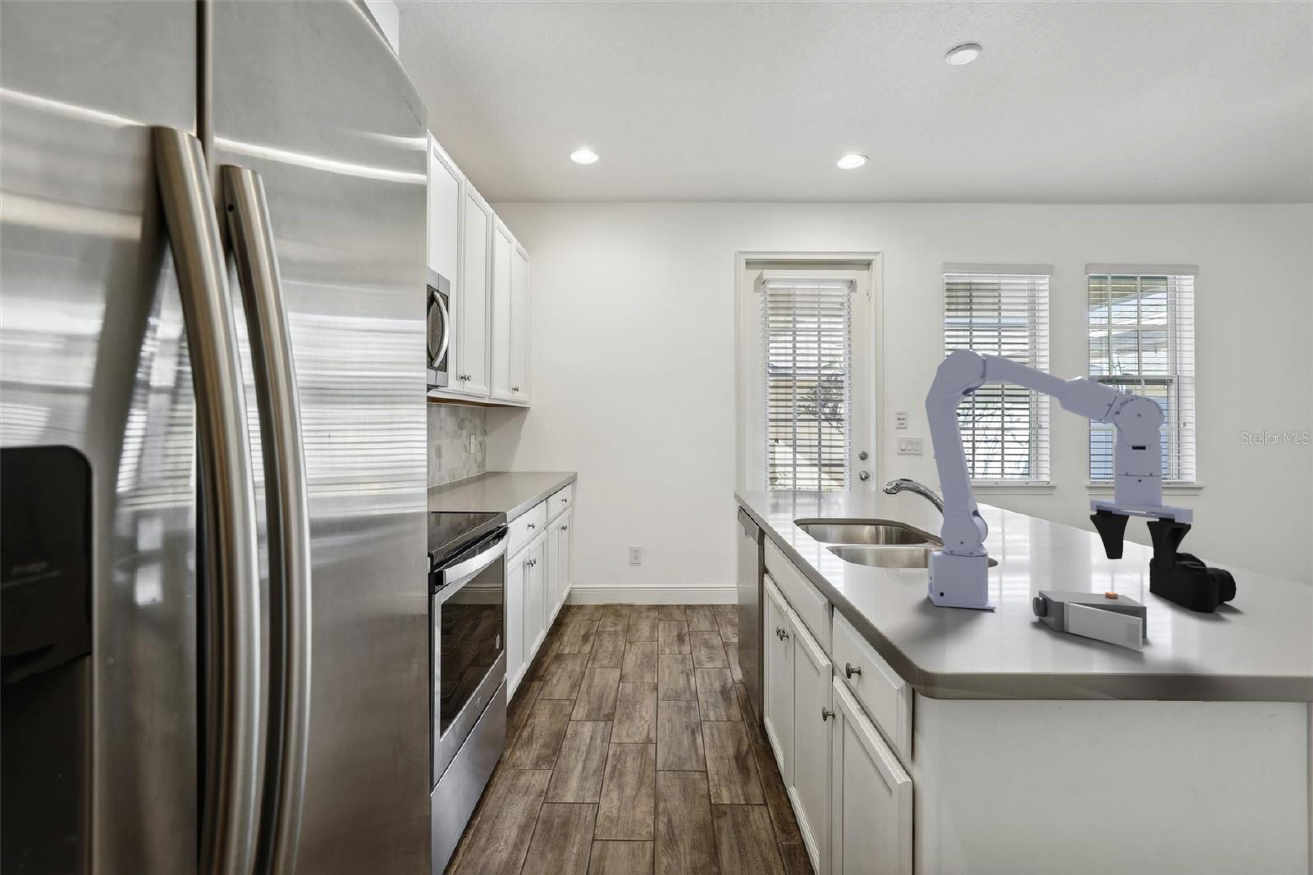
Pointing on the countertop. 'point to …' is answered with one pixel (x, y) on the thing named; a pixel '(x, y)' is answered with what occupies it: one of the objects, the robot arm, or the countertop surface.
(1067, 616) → the side door
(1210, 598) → the film camera
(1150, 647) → the countertop surface
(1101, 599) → the grey box
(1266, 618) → the countertop surface
